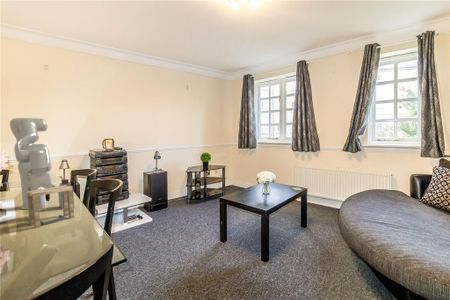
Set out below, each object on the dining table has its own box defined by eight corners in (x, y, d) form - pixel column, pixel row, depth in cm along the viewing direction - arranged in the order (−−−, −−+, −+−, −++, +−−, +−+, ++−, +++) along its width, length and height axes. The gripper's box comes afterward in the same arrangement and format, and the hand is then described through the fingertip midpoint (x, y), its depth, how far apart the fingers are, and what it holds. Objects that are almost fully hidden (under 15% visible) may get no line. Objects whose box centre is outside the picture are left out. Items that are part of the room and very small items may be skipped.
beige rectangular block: (74, 206, 157) (72, 179, 156) (62, 209, 152) (60, 181, 151) (71, 204, 162) (69, 178, 161) (59, 207, 157) (57, 180, 156)
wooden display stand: (29, 224, 126) (26, 191, 125) (67, 214, 141) (65, 185, 140) (35, 227, 121) (32, 193, 120) (74, 217, 136) (72, 186, 134)
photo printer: (37, 205, 142) (36, 185, 141) (46, 204, 144) (45, 184, 144) (36, 209, 134) (34, 187, 133) (45, 208, 136) (44, 186, 135)
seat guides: (38, 222, 129) (38, 219, 129) (60, 216, 137) (60, 214, 137) (44, 225, 124) (43, 222, 124) (66, 219, 133) (66, 216, 133)
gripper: (22, 174, 129) (24, 207, 130) (58, 169, 143) (60, 199, 144) (17, 173, 133) (20, 205, 134) (53, 169, 147) (55, 198, 148)
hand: (41, 201), depth 139 cm, fingers closed on photo printer, 5 cm apart
